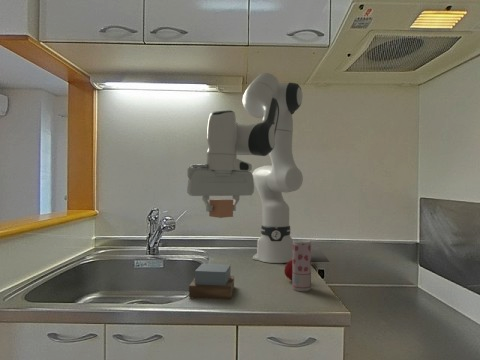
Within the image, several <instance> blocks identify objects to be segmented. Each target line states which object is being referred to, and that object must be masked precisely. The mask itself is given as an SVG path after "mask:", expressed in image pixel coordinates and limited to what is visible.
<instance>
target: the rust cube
mask: <svg viewBox="0 0 480 360" xmlns="http://www.w3.org/2000/svg"><path fill="white" fill-rule="evenodd" d="M233 201H234V199H227V198H226V199H225V198H216V199H215V198H213V199H209V200H208V202H209V204H210V205H212V206H213V208H212V209H213V211H211V212H209V213H208V216H209V217H212V218H219V219H221V218H222V219H223V218H231V217H232V218H233V217H234V211H233Z"/></svg>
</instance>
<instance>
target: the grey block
mask: <svg viewBox="0 0 480 360" xmlns="http://www.w3.org/2000/svg"><path fill="white" fill-rule="evenodd" d="M230 276H231V264H223V263H221V264H220V263H219V264H217V263H201V264H200V265H199V266H198V267H197V268H196V269H195V270H194V278H195V285H215V286H226V284H227V283H228V281H229V279H230Z"/></svg>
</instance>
